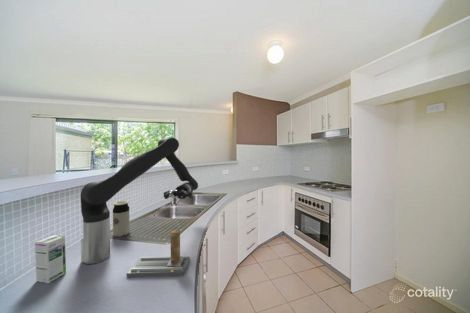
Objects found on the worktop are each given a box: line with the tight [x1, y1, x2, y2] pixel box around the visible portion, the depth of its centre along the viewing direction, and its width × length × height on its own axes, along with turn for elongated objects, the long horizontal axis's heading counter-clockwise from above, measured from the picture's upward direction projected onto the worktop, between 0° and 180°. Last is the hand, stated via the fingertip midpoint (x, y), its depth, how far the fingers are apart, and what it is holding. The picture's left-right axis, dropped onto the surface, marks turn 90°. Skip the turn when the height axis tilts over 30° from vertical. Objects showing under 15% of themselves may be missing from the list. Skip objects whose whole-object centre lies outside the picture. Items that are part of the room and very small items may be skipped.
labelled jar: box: [112, 200, 131, 237], centre depth 102 cm, size 8×8×18 cm
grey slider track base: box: [126, 255, 191, 278], centre depth 71 cm, size 21×10×2 cm, turn 92°
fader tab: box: [167, 229, 184, 267], centre depth 71 cm, size 5×6×13 cm
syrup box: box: [34, 234, 67, 284], centre depth 66 cm, size 6×6×14 cm
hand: (174, 196), depth 87 cm, fingers open, 8 cm apart
